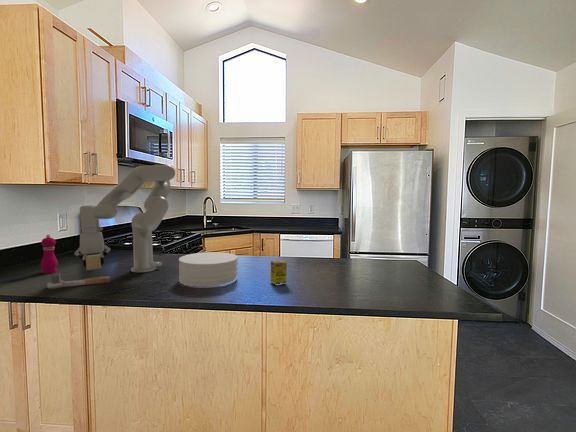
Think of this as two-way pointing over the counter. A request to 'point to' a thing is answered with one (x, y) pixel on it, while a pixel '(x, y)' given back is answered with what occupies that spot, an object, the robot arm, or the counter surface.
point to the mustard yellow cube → (93, 262)
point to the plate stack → (207, 268)
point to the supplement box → (278, 271)
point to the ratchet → (75, 281)
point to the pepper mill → (49, 256)
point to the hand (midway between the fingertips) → (94, 266)
